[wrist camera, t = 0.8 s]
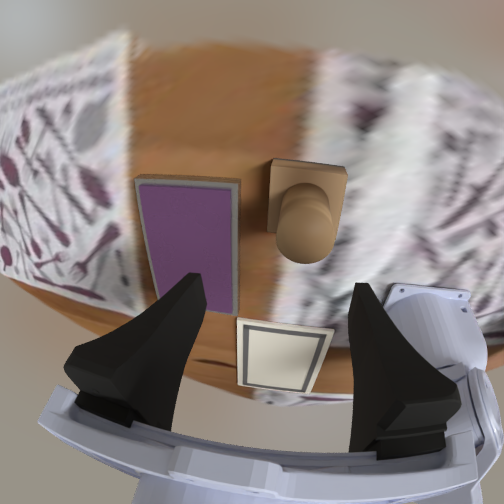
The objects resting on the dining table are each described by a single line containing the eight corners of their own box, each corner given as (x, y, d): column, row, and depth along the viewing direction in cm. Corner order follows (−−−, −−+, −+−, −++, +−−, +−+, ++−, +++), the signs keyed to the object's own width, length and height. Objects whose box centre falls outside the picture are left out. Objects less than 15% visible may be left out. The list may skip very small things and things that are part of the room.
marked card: (334, 329, 28) (334, 332, 28) (309, 391, 36) (309, 394, 36) (237, 317, 29) (236, 320, 29) (238, 382, 37) (237, 385, 37)
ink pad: (240, 178, 21) (237, 185, 20) (239, 308, 28) (237, 318, 27) (140, 174, 22) (132, 180, 21) (162, 295, 29) (157, 304, 28)
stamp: (344, 166, 19) (359, 204, 14) (333, 227, 22) (340, 280, 17) (273, 157, 20) (261, 192, 14) (269, 219, 22) (257, 270, 17)
